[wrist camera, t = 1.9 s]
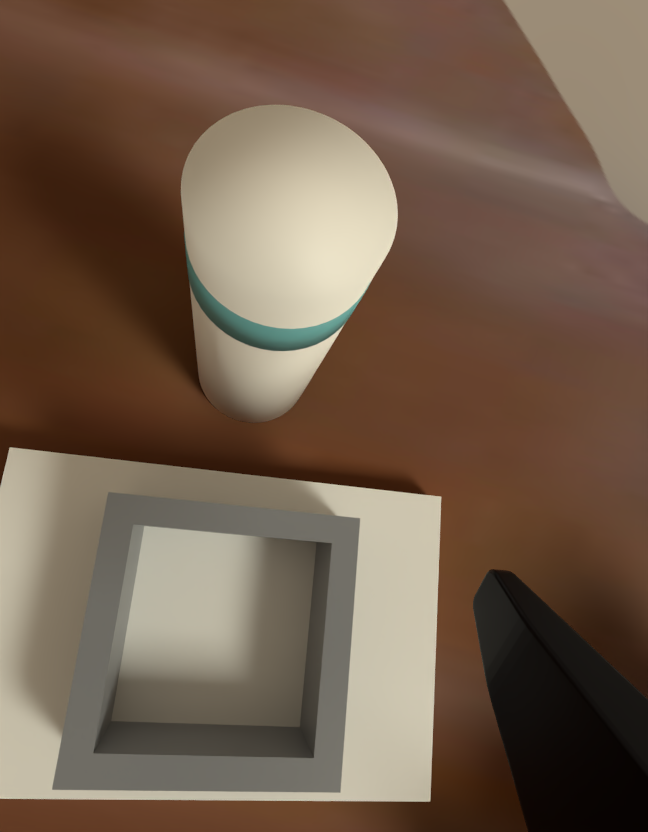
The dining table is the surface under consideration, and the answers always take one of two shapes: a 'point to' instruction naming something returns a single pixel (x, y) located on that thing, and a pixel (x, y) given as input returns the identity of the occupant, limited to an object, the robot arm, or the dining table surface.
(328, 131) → the teal-banded cream cylinder
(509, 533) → the dining table surface
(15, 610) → the jig
